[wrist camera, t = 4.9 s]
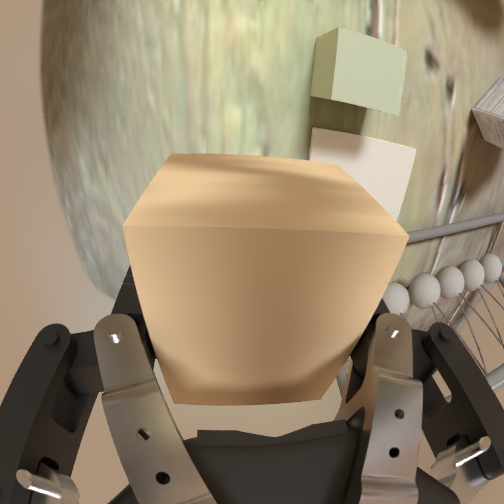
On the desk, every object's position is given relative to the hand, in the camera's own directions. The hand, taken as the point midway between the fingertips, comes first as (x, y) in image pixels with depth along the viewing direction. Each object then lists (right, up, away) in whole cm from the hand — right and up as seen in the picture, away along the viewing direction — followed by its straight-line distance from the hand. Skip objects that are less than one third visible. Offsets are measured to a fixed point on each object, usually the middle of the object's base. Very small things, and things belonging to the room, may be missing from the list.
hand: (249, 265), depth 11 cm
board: (+9, +6, +12) cm, 16 cm away
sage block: (+7, +14, +6) cm, 17 cm away
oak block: (0, +1, +1) cm, 1 cm away
